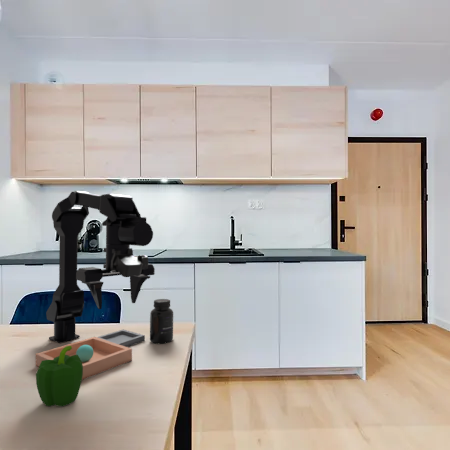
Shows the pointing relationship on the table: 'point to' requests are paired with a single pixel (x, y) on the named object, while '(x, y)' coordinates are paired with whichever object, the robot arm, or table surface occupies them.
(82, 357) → the ball
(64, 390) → the bell pepper
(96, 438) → the table surface
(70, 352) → the dish
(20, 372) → the table surface
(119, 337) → the tray
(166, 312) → the supplement bottle
